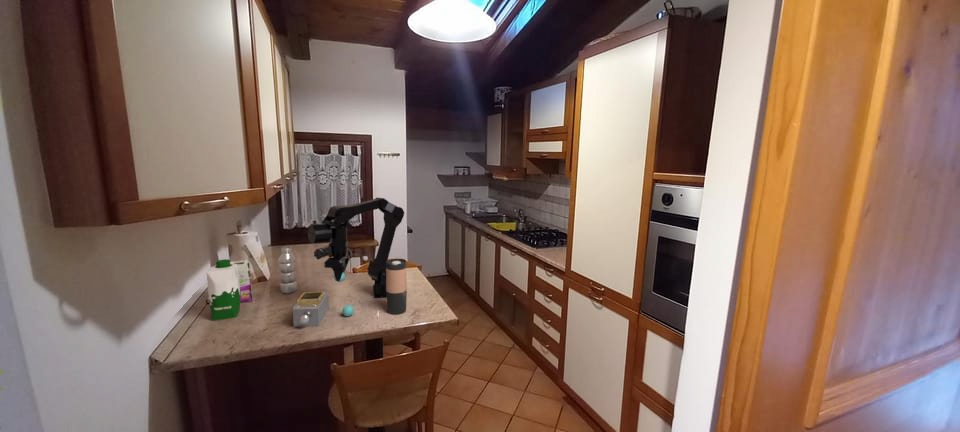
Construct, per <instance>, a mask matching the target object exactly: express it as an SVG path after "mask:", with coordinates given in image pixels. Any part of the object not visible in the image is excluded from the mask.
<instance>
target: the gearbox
mask: <svg viewBox="0 0 960 432" xmlns="http://www.w3.org/2000/svg"><path fill="white" fill-rule="evenodd" d="M329 304H330V303H329V291H325V290H323V291H311V292H310V291H307V292H303V293H302V294H301V295H300V296H299V298H298V299H297V303H296V304H295V305H294V306H293V307H292V316H293V318H292V319H293V328H306V327H319V326H320V324H321V323H322V321H323V320H324V318H325V316H326V315H327V313H328V311H329V310H330V305H329Z"/></svg>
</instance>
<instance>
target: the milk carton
mask: <svg viewBox="0 0 960 432" xmlns="http://www.w3.org/2000/svg"><path fill="white" fill-rule="evenodd" d="M230 261H231V260H230V259H228V258H227V259H226V258H225V259H218V260H216V261H215V264H216V266H215V265H212V266H211V267H210V268H209V269H208V270H207V272H206V281H207V294H208V301H209V308H210V314H211V318H212V321H213V320H214V321H218V320H219V321H220V320H226V319H233V318H237V317H238V314H239V312H240V310H241V308H240V307H241V302H240V300H241V299H240V286H239V276H238V267H237V264H230Z"/></svg>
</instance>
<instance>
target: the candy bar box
mask: <svg viewBox="0 0 960 432" xmlns="http://www.w3.org/2000/svg"><path fill="white" fill-rule="evenodd" d="M230 264H237V267H238V276H239V286H240V299H241V300H240V303H246V302H252V301H253V297H254V296H253V294H254V293H253V286H252V285H253V284H252V275H251V274H252V273H251V265H250V259H239V260H230ZM214 266H216V263H215V264H214Z"/></svg>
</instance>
